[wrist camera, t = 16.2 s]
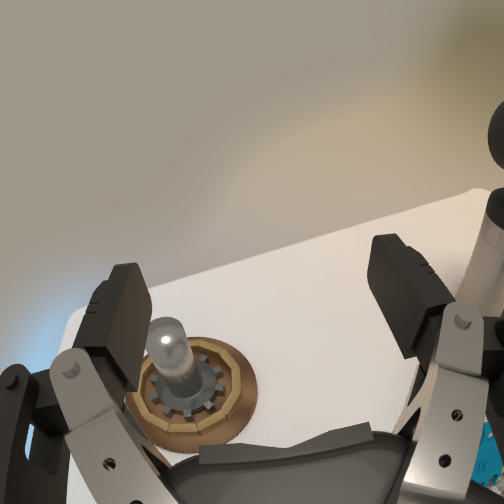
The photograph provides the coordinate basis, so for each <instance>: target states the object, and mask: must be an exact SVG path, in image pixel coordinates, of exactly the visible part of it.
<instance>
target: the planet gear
mask: <svg viewBox="0 0 504 504" xmlns="http://www.w3.org/2000/svg"><path fill="white" fill-rule="evenodd" d="M145 349H146V351H147V352H148V354H149V356H150V358H151V360H152V362H153V363H154V365H155V367H156V369H157V371H158V372H159V375H158V376H157V375H151V378H150V382H151V384H152V385H153V386H154V387H155V388H156V392H153V393H150V394H149V395H150V398H151V400H152V401H153V403H154V404H155V405H157V404H160V403H163V405H164V407H163V409H162V410H161V411H162V413H163V414H164V415H165V416H166V417H168V418H170V419H172V417H173V416H174V414H178V415H184V418H185V420H186V421H187V422H194V421H195V419H194V414H198V413H200V412H203V411H204V410H206V411H207V412H208V413H209V414H212V413H213V412H214V411H216V408H215V406H214V404H213V402H214V401H215V399H216V397H217V396H223V397H225V392H226V389H225V386H224V384H218V381H217V380H218V379H220V378H222V377H224V376H223V373H222V370H221V368H220V367H219V365H218V366H216V367H214V368H211V367H210V366H209V364H210V361H209V358H208V356H206V355H203V354H202V355H201V356H200V358H199V359H195V358H194V355H193V352H192V350H191V347H190V345H189V342H188V339H187V337H186V334H185V331H184V328H183V326H182V324H181V322H180V321H178V320H177V319H175V318H172V317H161V318H157V319H155V320H153V321H151V322H150V325H149V330H148V335H147V340H146V345H145Z"/></svg>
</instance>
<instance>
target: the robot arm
mask: <svg viewBox="0 0 504 504" xmlns="http://www.w3.org/2000/svg"><path fill="white" fill-rule="evenodd" d="M488 145H489V150H490V153H491V155H492V157H493V159H494V161H495V162H496V163H497V164H498V165H499V166H500V167H501V168H502V169H504V101H503V102H502V103H501V104H500V105H499V106H498V108H497V109H496V110H495V112H494V114H493V116H492V118H491V121H490V124H489V129H488ZM367 279H368V284H369V287H370V290H371V291H372V293H373V295H374V297H375V299H376V301H377V303H378V305H379V307H380V309H381V311H382V313H383V315H384V317H385V319H386V321H387V323H388V325H389V327H390V329H391V331H392V333H393V335H394V338H395V340H396V342H397V344H398V346H399V348H400V350H401V352H402V355H403V357H404V359H408V358H412V357H415V356H417V358H418V360H419V363H418V364H417V367H416V370H415V373H414V377H413V380H412V383H411V387H410V390H409V393H408V396H407V399H406V402H405V405H404V408H403V411H402V413H401V415H400V418H399V419H398V421H397V423H396V425H395V427H394V429H393V431H392V433H388V432H382V431H371V428H370V424H369V422H365V423H361V424H357V425H353V426H349V427H345V428H340V429H335V430H331V431H328V432H325V433H323V434H321V435H319V436H316V437H314V438H312V439H309V440H307V441H305V442H302V443H300V444H297V445H295V446H292V447H289V448H276V447H267V446H258V445H251V444H244V443H236V444H219V445H199V455H196V456H193V457H190V458H187V459H185V460H183V461H181V462H179V463H177V464H175V465H174V466H171V465H170V463H169V462H168V461H167V460H166V459H165V457H164V456H163V455H162V454H161V453H160V452H159V451H158V449H157V448H156V447H155V446H154V445H153V443H152V442H151V440H150V439H149V438H148V436H147V435H146V433H145V432H144V430H143V429H142V427H141V426H140V424H139V423H138V421H137V420H136V418H135V417H134V415H133V414H132V412H131V411H130V409H129V407H128V406H127V404H126V403H125V402H124V398H125V393H126V392H138V386H139V380H140V374H141V368H142V362H143V356H144V351H145V345H146V340H147V335H148V330H149V325H150V320H151V315H152V302H151V297H150V294H149V292H148V289H147V287H146V284H145V281H144V278H143V276H142V273H141V270H140V268H139V266H138V264H137V263H127V264H118V265H115V266H114V267H113V270H112V272H111V274H110V277H109V279H108V280H106V281H103V282H102V283H101V284H100V285H99V286H98V287H97V288H96V290H95V291H94V292H93V295H92V297H91V300H90V302H89V305H88V307H87V309H86V314H84V317H83V319H82V322H81V325H80V327H79V330H78V333H77V335H76V338H75V341H74V344H73V346H72V348H71V349H68V350H65V351H63V352H62V353H60V354H59V355H58V356H57V357H56V358H55V359H54V361H53V362H52V364H51V367H50V369H47V370H43V371H40V372H36V373H33V374H31V373H30V372H29V371H28V370H27V368H26V367H25V366H23V365H21V364H14V365H11V366H9V367H8V368H7V369H5V370H4V371H3V372H2V374H1V375H0V504H66V497H67V482H68V471H69V461H70V452H71V454H72V456H73V459H74V461H75V463H76V465H77V467H78V469H79V471H80V473H81V475H82V477H83V479H84V481H85V483H86V484H87V486H88V488H89V490H90V492H91V494H92V495H93V497H94V499H95V501H96V502H97V504H504V468H503V471H502V475H501V476H500V477H499V479H498V480H497V488H498V490H499V491H502V493H501V495H499V494H497V493H495V492H493V491H492V490H490V489H488V488H486V487H485V486H483V485H481V484H479V483H478V482H476V481H474V480H473V479H471V476H472V472H473V468H474V465H475V461H476V457H477V453H478V448H479V444H480V439H481V434H482V429H483V423H484V417H485V414H486V416H487V419H488V422H489V424H490V427H491V430H492V433H493V435H494V438H495V441H496V444H497V447H498V450H499V453H500V457H501V460H502V463H503V467H504V188H499V189H496V190H494V191H493V192H492V193H491V194H490V196H489V199H488V202H487V206H486V210H485V214H484V218H483V221H482V225H481V228H480V232H479V235H478V238H477V241H476V244H475V247H474V250H473V253H472V256H471V259H470V262H469V264H468V267H467V270H466V272H465V275H464V278H463V280H462V282H461V285H460V287H459V290H458V292H457V295H456V297H455V299H454V297H453V296H452V294H451V293H450V292H449V290H448V289H447V287H446V286H445V285H444V283H443V282H442V281H441V279H440V278H439V277H438V275H437V274H435V271H434V270H433V269H432V267H431V266H429V263H428V262H427V261H426V259H425V258H424V257H423V256H422V254H421V253H419V252H418V251H416V250H415V249H413V248H412V247H410V246H406V245H405V244H404V243H403V241H402V240H401V239H400V238H399V236H398V235H397V234H395V233H394V234H385V235H376V236H374V238H373V241H372V247H371V253H370V259H369V265H368V271H367ZM30 424H32V425H33V426H34V432H33V437H32V442H31V448H30V454H29V460H28V459H27V457H26V455H25V444H26V439H27V434H28V429H29V425H30Z"/></svg>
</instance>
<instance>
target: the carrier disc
mask: <svg viewBox="0 0 504 504" xmlns="http://www.w3.org/2000/svg"><path fill="white" fill-rule="evenodd" d="M187 339H188V342H189V345H190V347H191V350H192V352H193V355H194V358H195V359H199V358H200V356H201V355H202V354H203V355H206V356H208V358H209V361H210V364H209V366H210V367H211V368H214V367H216V366H218V365H219V367H220V368H221V370H222V373H223V376H224V377H222V378H220V379H218V380H217V381H218V384H224V386H225V389H226V392H225V397H223V396H217V397H216V399H215V401H214V402H213V404H214V406H215V408H216V411H214V412H213V413H212V414H209V413H208V412H207V411H206V410H204V411H203V412H200V413H198V414H194V419H195V421H194V422H187V421H186V420H185V418H184V415H178V414H174V416H173V417H172V419H170V418H168V417H166V416H165V415H164V414H163V413H162V411H161V410H162V409H163V407H164V405H163V403H160V404H157V405H155V404H154V403H153V401H152V400H151V398H150V395H149V394H150V393H153V392H156V388H155V387H154V386H153V385H152V384H151V382H150V378H151V375H157V376H158V375H159V372H158V371H157V369H156V367H155V365H154V363H153V362H152V360H151V358H150V356H149V354H147V355H146V356H145V357H144V358H143V362H142V368H141V374H140V380H139V386H138V392H126V393H125V403H126V404H127V406H128V407H129V409H130V411H131V412H132V414H133V415H134V417H135V418H136V420H137V421H138V423H139V424H140V426H141V427H142V429H143V430H144V432H145V433H146V435H147V436H148V438H149V439H150V440H151V442H152V443H153V444H155V445H157V446H159V447H161V448H163V449H166V450H169V451H173V452H178V453H199V445H219V444H226V443H227V442H229V441H230V440H232V439H233V438H234V437H235V436H237V435H238V434H239V433H240V432H241V431H242V430H243V429H244V427H245V426H246V425H247V423H248V422H249V420H250V419H251V417H252V415H253V412H254V410H255V406H256V403H257V383H256V378H255V374H254V371H253V369H252V367H251V365H250V363H249V362H248V360H247V359H246V358H245V356H244V355H243V354H242V353H241V352H239V351H238V350H237V349H235V348H234V347H232V346H231V345H229V344H227V343H225V342H222V341H219V340H216V339H212V338H206V337H188V338H187Z"/></svg>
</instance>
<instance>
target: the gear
mask: <svg viewBox="0 0 504 504" xmlns="http://www.w3.org/2000/svg"><path fill="white" fill-rule="evenodd" d="M491 432H492V430H491V427H490V424H489V422H485V423H484V424H483V429H482V436H481V439H480V444H479V448H478V453H477V457H476V461H475V465H474V468H473V472H472V476H471V479H473V480H474V481H476V482H478V483H479V484H480V483H481V482H482V483H481V485H483V486H485V487H486V488H487V484H488V482H489V480H490V479H491V477H492V476H493V475H494V477H493V479H492V482H493V484H494V485H497V480H498V479H499V477H500V476H501V472H502V471H503V468H504V467H503V463H502V460H501V457H500V453H499V450H498V447H497V444H496V441H495V438H494V435H492V436H491V437H489V438H488V436H489V434H490V433H491Z"/></svg>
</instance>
